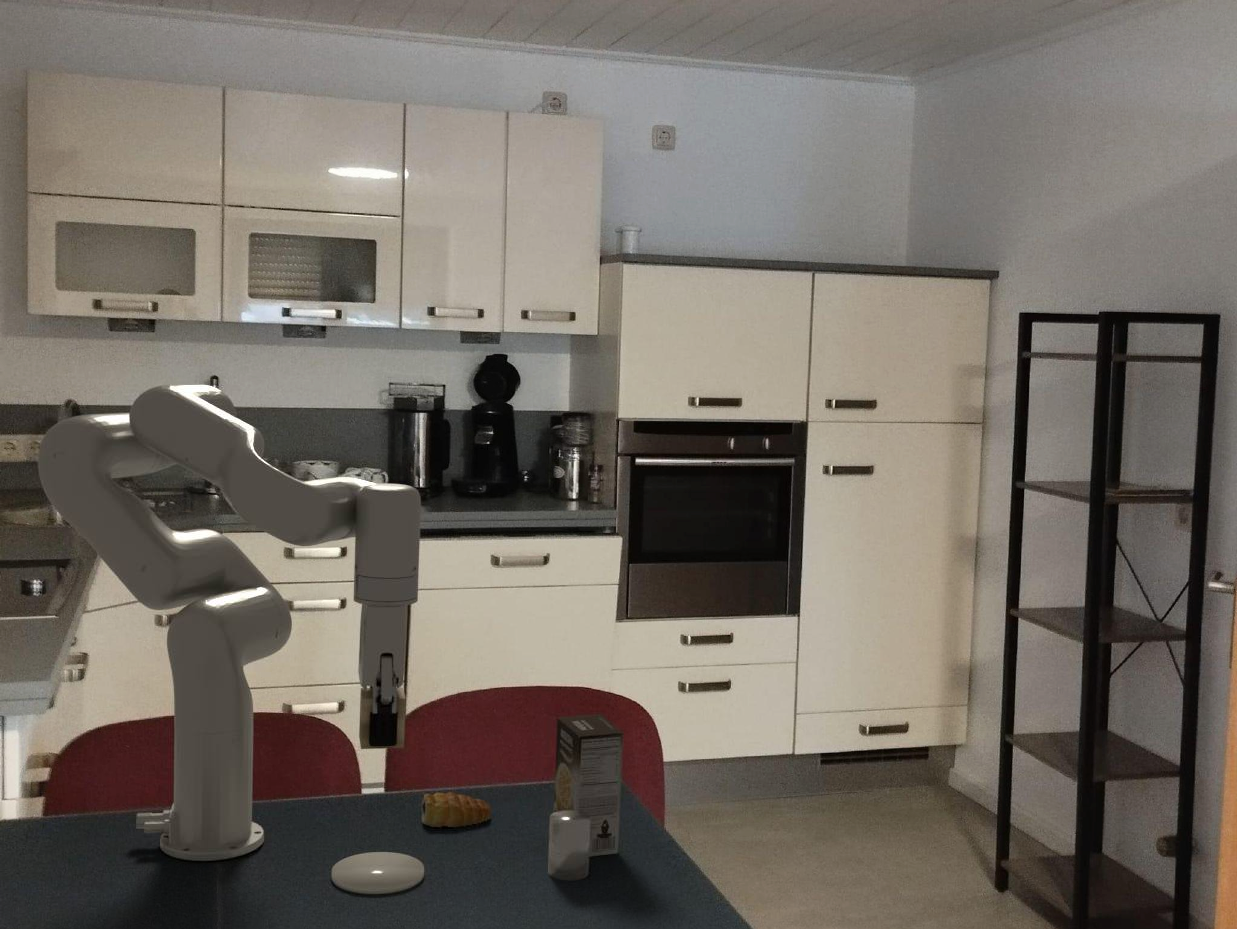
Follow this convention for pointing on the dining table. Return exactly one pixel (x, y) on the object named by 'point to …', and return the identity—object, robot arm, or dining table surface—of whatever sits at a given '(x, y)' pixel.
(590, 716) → the coffee box
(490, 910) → the dining table surface
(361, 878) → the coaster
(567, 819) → the tin
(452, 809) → the pastry
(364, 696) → the block
